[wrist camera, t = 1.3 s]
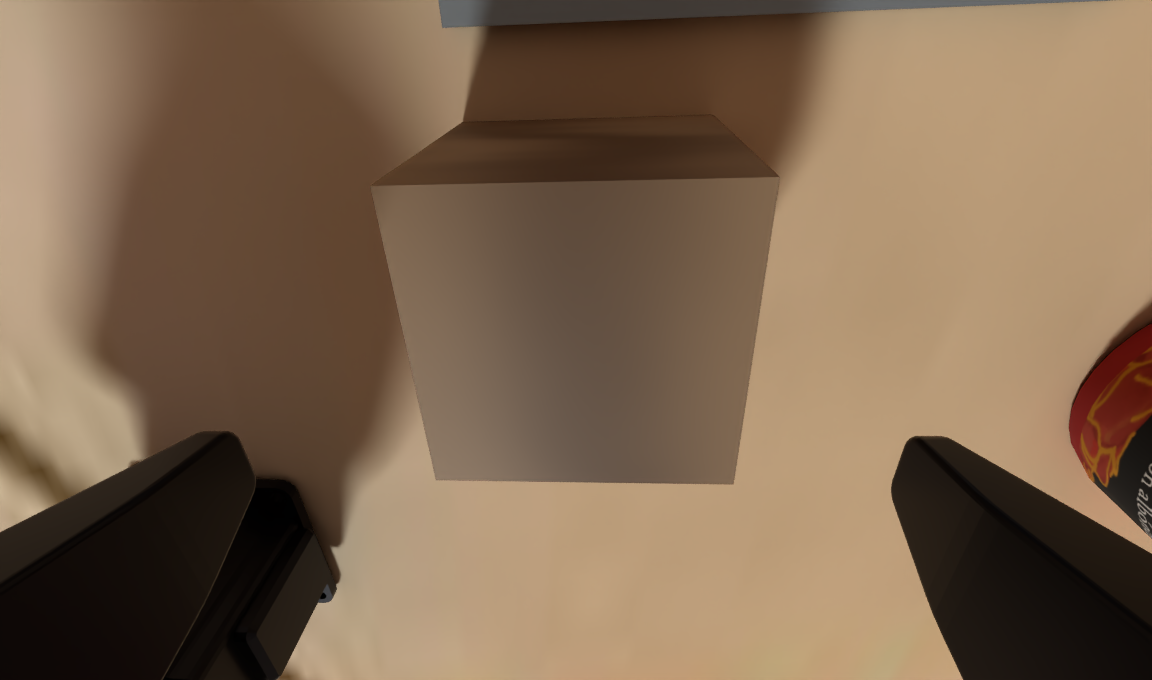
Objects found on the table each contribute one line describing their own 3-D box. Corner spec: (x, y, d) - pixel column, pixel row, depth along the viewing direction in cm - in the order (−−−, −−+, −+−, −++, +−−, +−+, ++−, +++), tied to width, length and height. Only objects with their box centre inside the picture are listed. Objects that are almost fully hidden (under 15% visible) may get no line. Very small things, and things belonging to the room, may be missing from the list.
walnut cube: (491, 334, 16) (436, 479, 11) (463, 121, 13) (370, 186, 8) (693, 334, 16) (733, 484, 11) (712, 114, 13) (779, 176, 8)
